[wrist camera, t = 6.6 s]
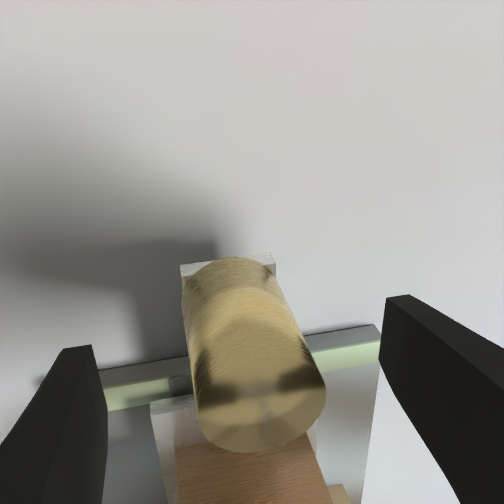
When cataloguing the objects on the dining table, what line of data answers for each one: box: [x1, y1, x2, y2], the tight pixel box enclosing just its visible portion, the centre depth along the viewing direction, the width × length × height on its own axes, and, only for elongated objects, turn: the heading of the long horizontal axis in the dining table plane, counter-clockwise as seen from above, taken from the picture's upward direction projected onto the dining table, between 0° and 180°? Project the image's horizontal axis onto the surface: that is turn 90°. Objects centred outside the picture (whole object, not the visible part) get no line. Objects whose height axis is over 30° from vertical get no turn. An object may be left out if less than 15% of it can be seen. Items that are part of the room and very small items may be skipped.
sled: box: [150, 253, 333, 504], centre depth 15 cm, size 13×6×5 cm, turn 2°
